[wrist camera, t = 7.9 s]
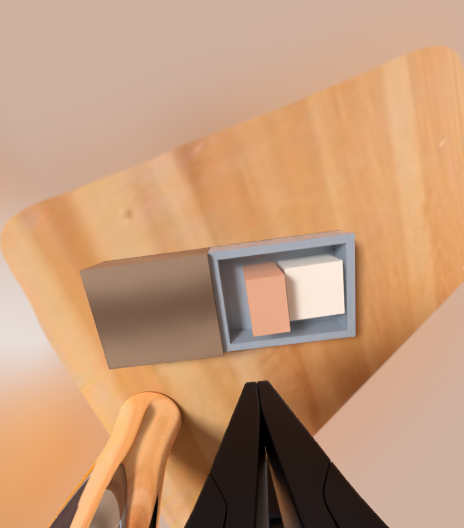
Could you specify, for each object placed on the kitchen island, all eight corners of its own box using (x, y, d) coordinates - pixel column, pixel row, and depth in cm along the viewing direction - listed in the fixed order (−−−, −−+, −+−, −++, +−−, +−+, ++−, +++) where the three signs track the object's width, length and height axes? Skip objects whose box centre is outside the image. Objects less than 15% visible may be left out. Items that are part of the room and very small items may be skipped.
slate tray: (340, 320, 20) (355, 336, 17) (224, 334, 20) (223, 351, 17) (337, 230, 18) (354, 233, 15) (211, 247, 18) (207, 252, 16)
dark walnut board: (224, 334, 20) (223, 355, 17) (127, 346, 20) (109, 369, 17) (211, 247, 18) (207, 254, 15) (103, 261, 18) (79, 271, 15)
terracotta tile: (249, 310, 19) (278, 306, 19) (253, 336, 15) (290, 331, 15) (242, 265, 18) (273, 261, 18) (245, 280, 14) (284, 274, 14)
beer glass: (182, 448, 23) (94, 862, 8) (114, 439, 23) (-98, 850, 8) (190, 392, 21) (100, 783, 7) (117, 382, 21) (-139, 765, 7)
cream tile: (290, 320, 16) (282, 306, 19) (344, 313, 16) (329, 299, 19) (284, 268, 15) (277, 261, 18) (342, 260, 15) (327, 253, 18)
